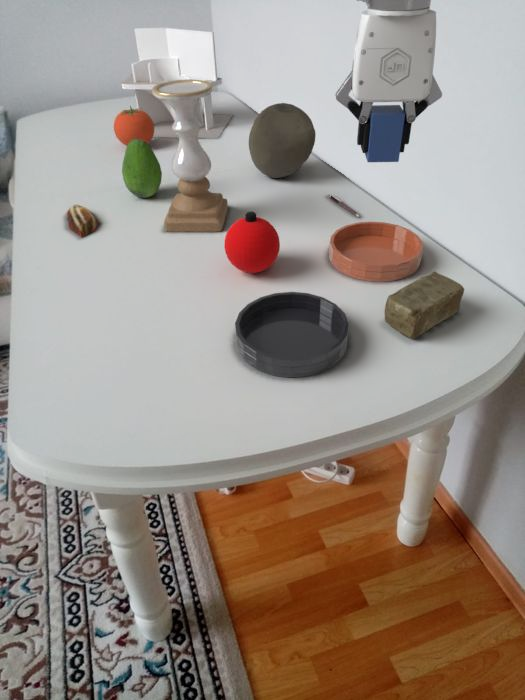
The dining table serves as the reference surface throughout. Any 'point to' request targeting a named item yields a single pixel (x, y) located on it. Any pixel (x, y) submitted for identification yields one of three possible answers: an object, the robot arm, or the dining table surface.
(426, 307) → the stone block
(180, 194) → the candle holder
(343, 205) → the pen
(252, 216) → the ornament
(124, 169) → the fruit
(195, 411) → the dining table surface
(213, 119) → the architectural model
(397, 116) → the blue block
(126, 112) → the tomato
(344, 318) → the charcoal bowl
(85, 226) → the decorative stone
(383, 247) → the terracotta bowl
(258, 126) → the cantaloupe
